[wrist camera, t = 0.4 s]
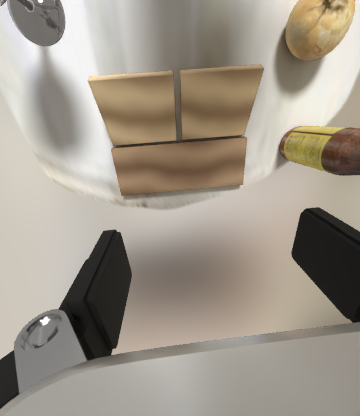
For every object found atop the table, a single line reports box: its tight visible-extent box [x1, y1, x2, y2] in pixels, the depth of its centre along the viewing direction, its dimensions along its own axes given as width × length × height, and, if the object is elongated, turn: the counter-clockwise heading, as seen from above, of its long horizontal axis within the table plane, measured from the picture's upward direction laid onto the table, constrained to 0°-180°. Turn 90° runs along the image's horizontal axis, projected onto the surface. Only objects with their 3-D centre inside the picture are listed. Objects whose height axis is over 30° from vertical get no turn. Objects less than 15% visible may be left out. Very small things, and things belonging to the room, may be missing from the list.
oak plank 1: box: [88, 71, 177, 146], centre depth 29 cm, size 10×11×1 cm
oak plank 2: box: [180, 64, 264, 140], centre depth 29 cm, size 10×11×1 cm
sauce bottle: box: [280, 126, 360, 175], centre depth 26 cm, size 6×6×20 cm
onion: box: [285, 0, 355, 61], centre depth 25 cm, size 8×8×7 cm
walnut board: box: [111, 137, 247, 196], centre depth 35 cm, size 9×24×1 cm, turn 94°
